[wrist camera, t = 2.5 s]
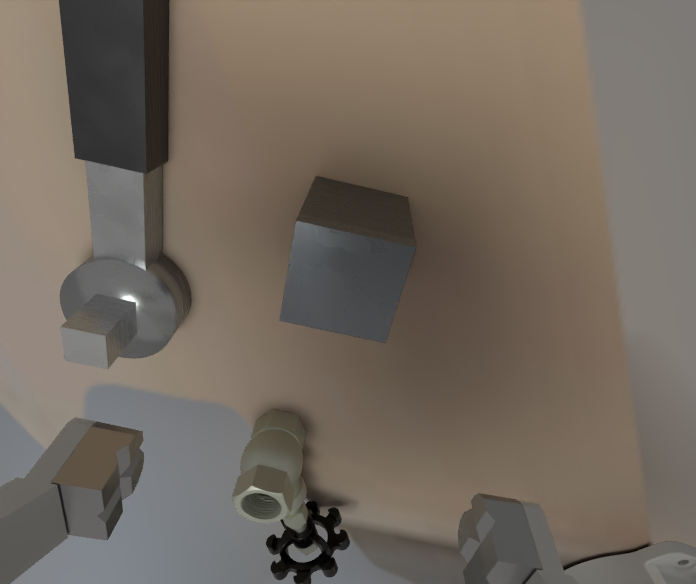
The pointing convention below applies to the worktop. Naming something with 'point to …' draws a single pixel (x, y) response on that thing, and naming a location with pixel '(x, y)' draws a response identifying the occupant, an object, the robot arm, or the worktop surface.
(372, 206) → the plain grey cube
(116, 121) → the ratchet
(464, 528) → the robot arm
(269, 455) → the valve
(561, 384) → the worktop surface
